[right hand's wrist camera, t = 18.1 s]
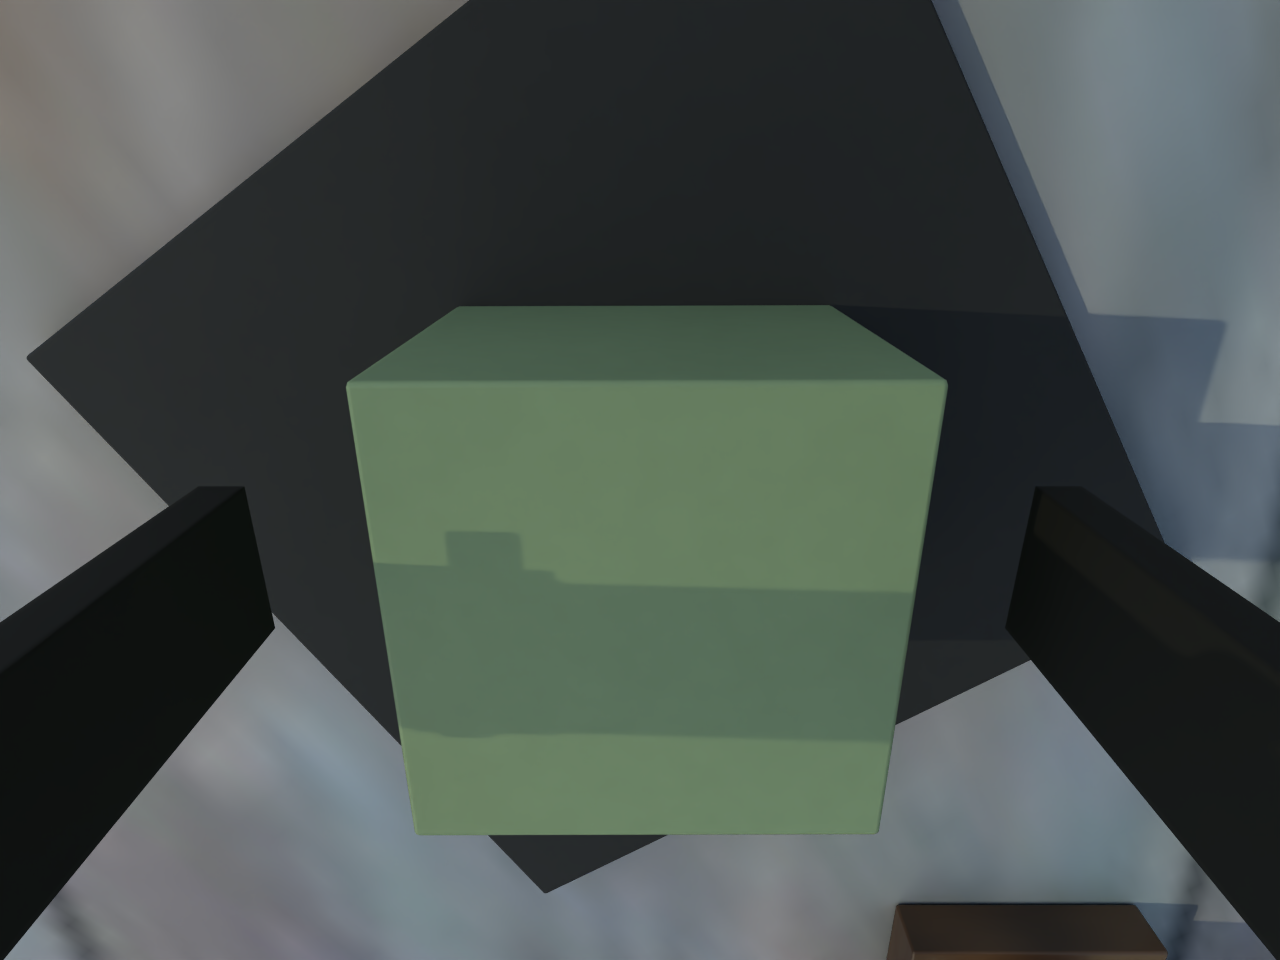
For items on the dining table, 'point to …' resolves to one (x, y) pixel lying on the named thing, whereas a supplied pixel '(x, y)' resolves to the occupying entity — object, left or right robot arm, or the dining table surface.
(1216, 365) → the dining table surface
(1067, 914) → the caddy
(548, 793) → the sage green cube
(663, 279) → the slate mat
